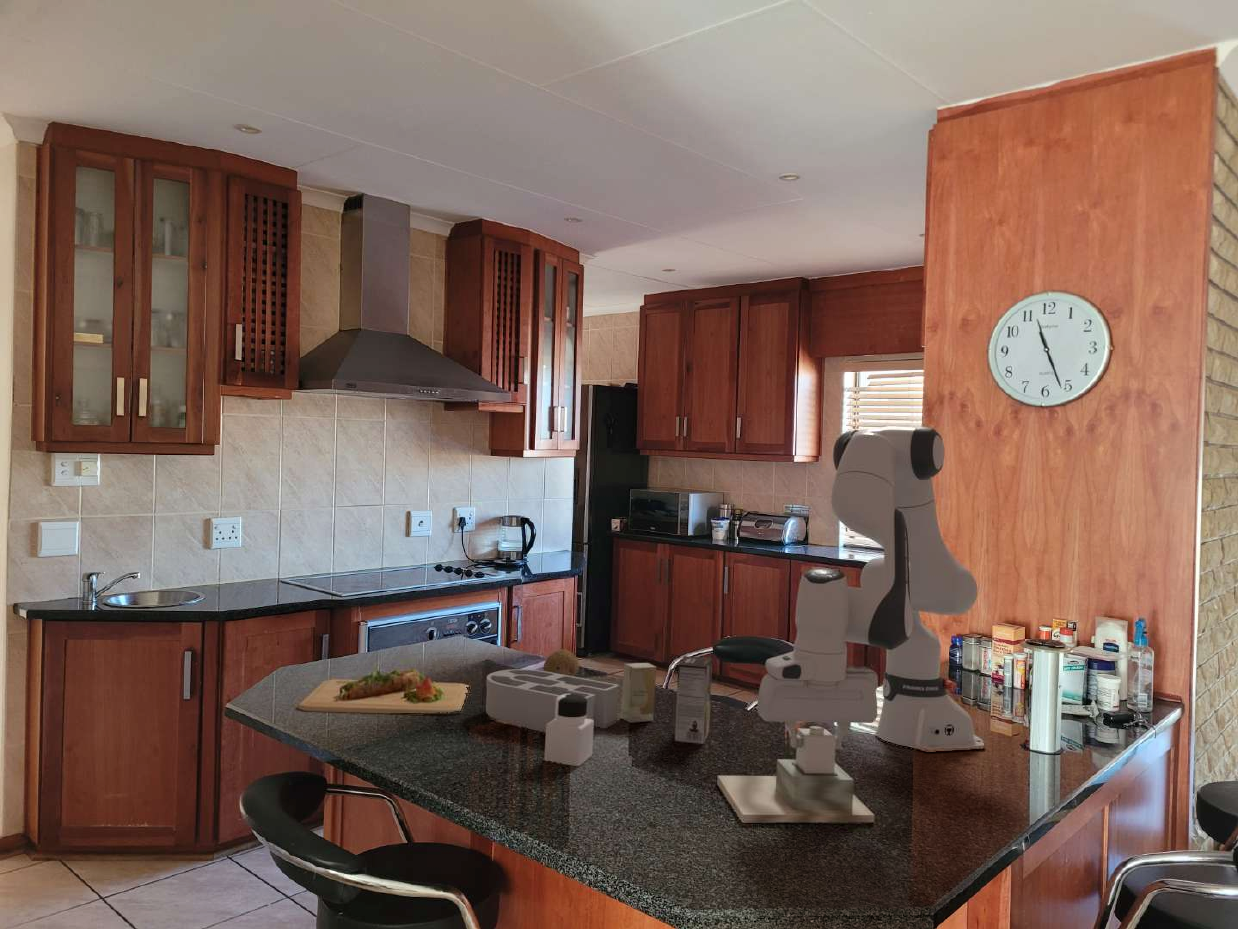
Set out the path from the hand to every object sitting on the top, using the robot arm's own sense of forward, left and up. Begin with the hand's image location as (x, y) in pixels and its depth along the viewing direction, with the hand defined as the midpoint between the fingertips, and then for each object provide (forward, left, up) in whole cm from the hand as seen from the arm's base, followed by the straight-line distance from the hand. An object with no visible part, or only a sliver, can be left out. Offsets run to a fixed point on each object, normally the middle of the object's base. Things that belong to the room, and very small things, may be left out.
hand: (815, 747), depth 153 cm
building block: (0, 0, -4) cm, 4 cm away
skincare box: (+23, -51, -10) cm, 57 cm away
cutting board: (+79, -64, -11) cm, 103 cm away
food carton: (+13, -39, -10) cm, 42 cm away
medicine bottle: (+40, -24, -10) cm, 48 cm away
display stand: (+3, -2, -10) cm, 11 cm away
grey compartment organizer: (+44, -49, -11) cm, 67 cm away
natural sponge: (+39, -76, -10) cm, 86 cm away
